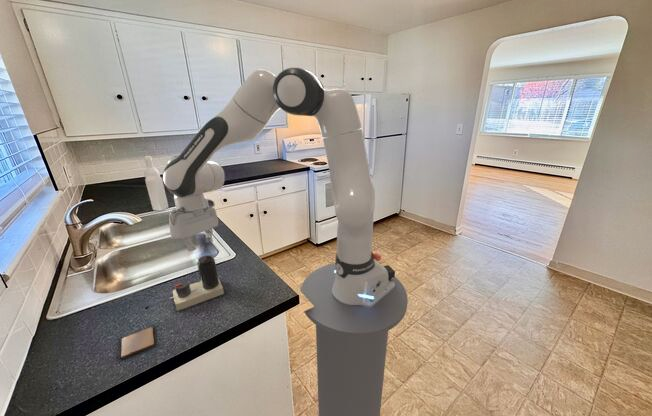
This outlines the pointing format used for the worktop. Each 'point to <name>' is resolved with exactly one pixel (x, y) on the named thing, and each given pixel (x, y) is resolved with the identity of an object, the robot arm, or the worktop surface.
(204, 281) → the jar
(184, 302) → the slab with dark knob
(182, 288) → the knob
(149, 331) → the trivet
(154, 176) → the milk
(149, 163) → the bottle
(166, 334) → the worktop surface
